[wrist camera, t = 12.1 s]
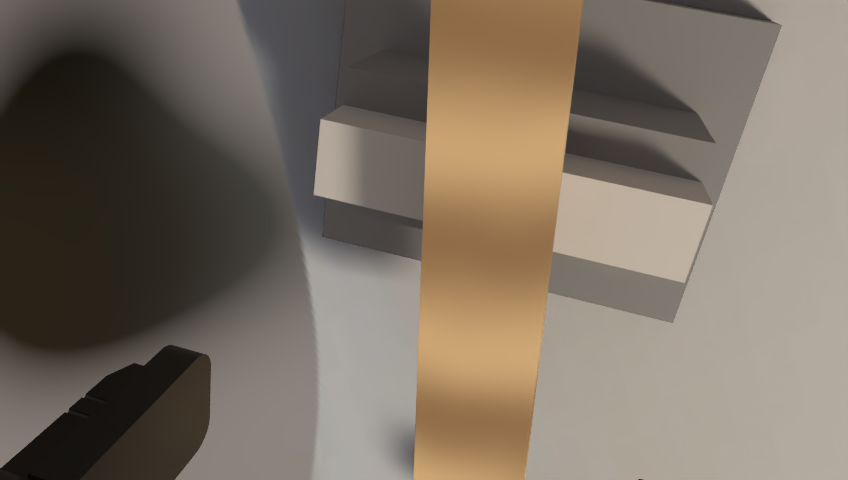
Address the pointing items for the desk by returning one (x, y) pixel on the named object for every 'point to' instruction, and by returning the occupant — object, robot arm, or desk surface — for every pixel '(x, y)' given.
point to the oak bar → (489, 227)
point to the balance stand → (585, 146)
